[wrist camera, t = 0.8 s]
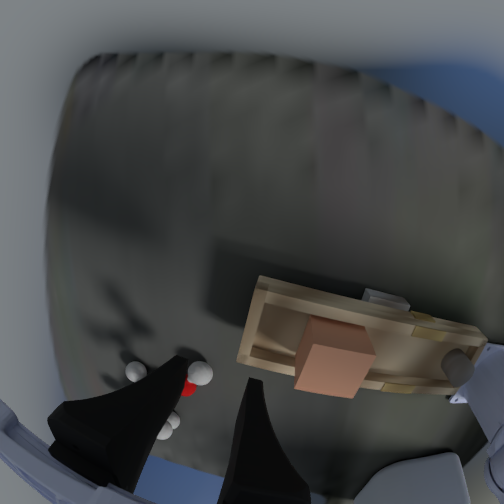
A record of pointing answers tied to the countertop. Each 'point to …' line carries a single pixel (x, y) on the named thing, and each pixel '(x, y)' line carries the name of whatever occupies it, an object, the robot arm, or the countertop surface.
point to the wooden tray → (379, 331)
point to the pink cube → (332, 357)
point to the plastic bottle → (418, 482)
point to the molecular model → (196, 376)
